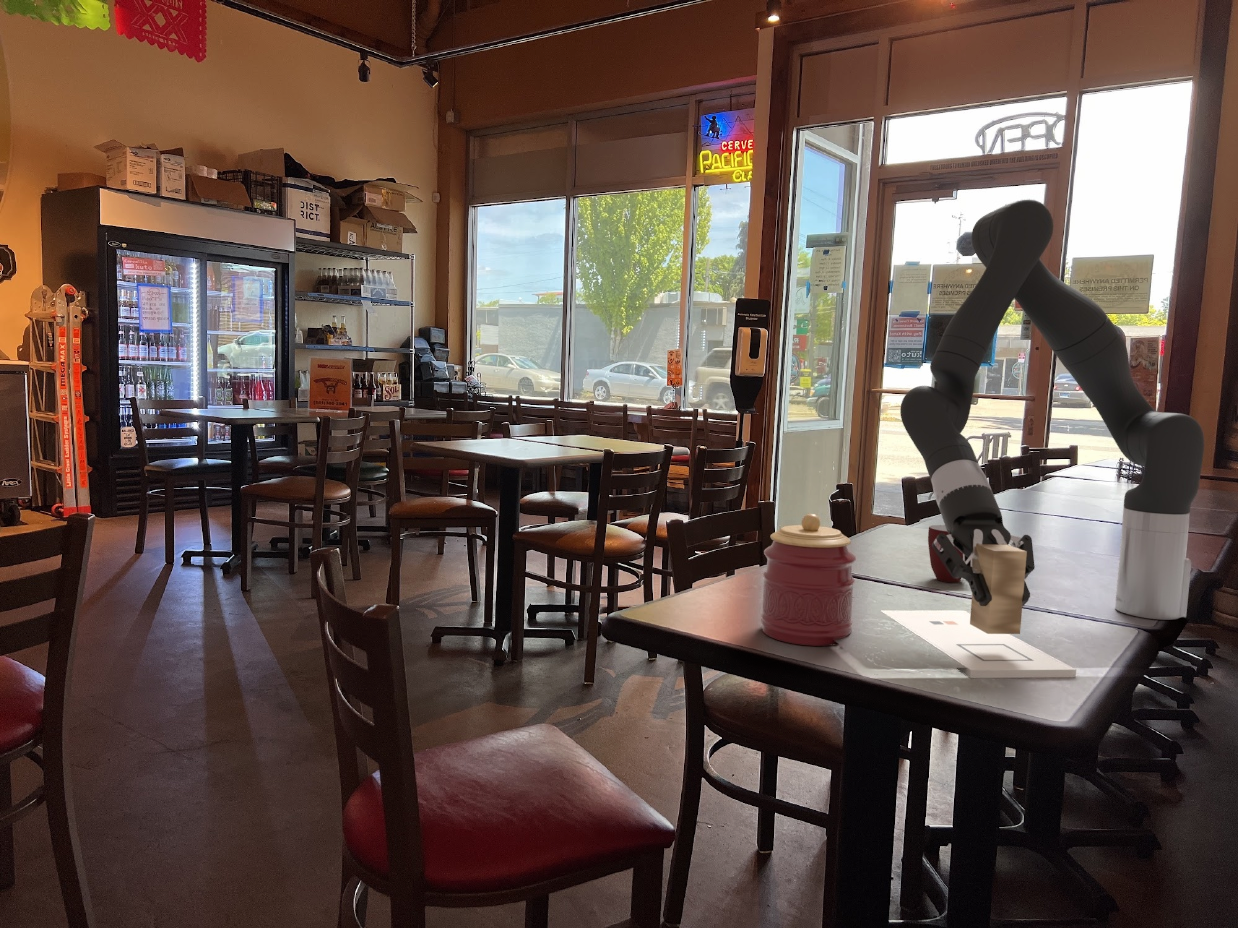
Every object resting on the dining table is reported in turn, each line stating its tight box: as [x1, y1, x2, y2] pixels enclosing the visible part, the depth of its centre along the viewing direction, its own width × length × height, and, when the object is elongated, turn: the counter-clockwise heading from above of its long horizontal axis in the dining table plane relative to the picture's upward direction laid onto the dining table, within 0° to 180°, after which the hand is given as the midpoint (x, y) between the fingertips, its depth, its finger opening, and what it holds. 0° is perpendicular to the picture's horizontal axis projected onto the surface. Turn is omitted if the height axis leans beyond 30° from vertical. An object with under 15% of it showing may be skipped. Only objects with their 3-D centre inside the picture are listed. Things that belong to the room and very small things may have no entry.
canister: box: [760, 513, 857, 647], centre depth 122 cm, size 13×13×18 cm
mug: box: [927, 524, 963, 584], centre depth 161 cm, size 10×8×10 cm
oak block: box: [970, 544, 1027, 635], centre depth 112 cm, size 4×4×11 cm
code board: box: [879, 609, 1077, 679], centre depth 120 cm, size 14×28×1 cm, turn 6°
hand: (1004, 602), depth 111 cm, fingers closed on oak block, 4 cm apart
